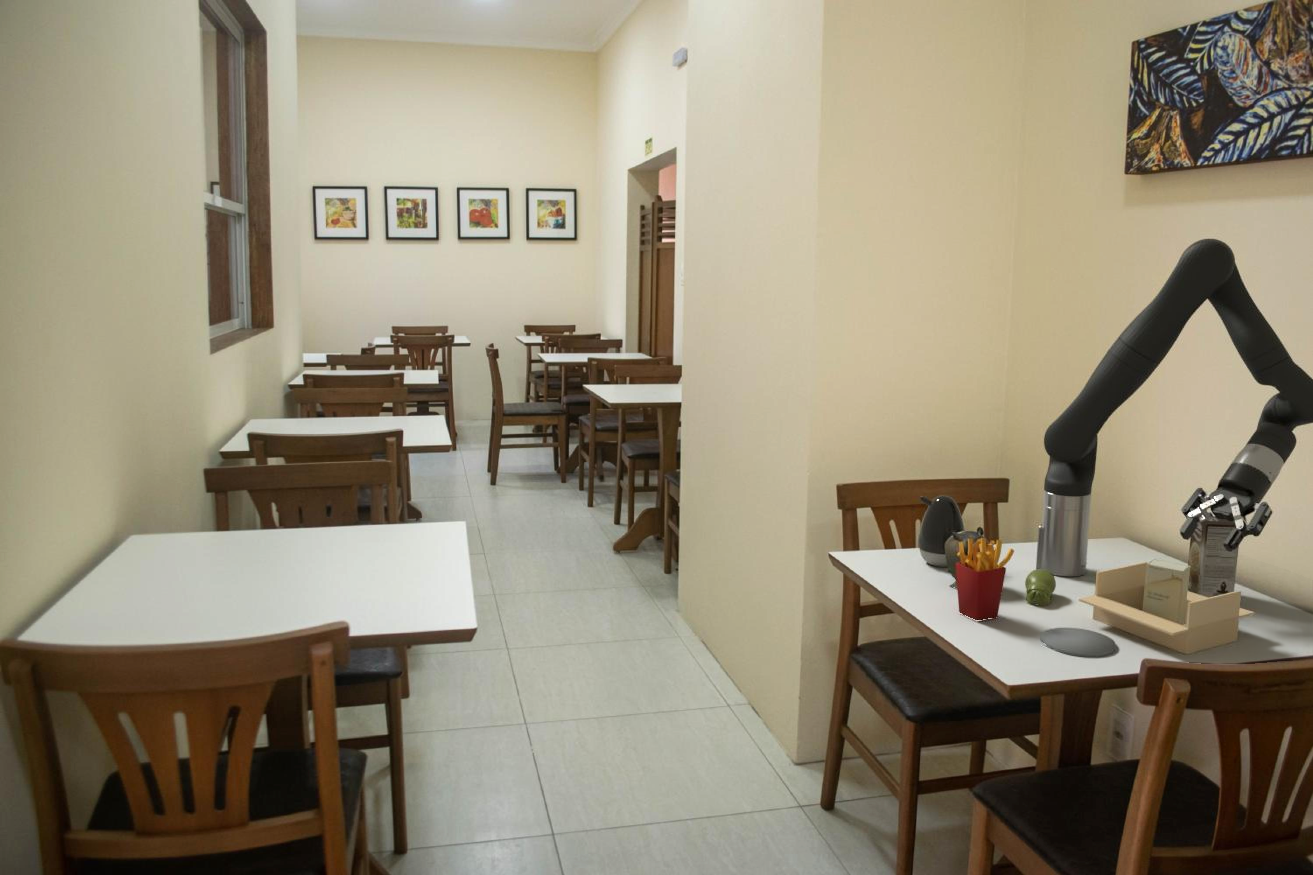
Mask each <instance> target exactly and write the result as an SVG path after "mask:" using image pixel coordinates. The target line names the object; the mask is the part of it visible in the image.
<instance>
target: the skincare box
mask: <svg viewBox="0 0 1313 875" xmlns="http://www.w3.org/2000/svg"><path fill="white" fill-rule="evenodd" d="M1190 567H1191V566H1188V564H1187V565H1186V564H1181V563H1177V562H1172V561H1167V560H1166V561H1165V560H1161V559H1157V558H1154V559H1152V560H1151V561H1149V562H1148V564H1147V573H1146V582H1145V591H1144V600H1143V609H1141V611H1143V612H1146V613H1149V614H1152V615H1155V616H1157V617H1160V618H1163V619H1166V620H1169V621H1171V622H1174V623H1177V624H1180V625H1183V626H1185V623H1184V618H1185V610H1186V601H1187V592H1188V583H1189V575H1190Z"/></svg>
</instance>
